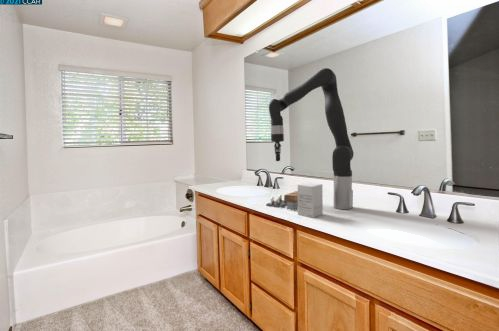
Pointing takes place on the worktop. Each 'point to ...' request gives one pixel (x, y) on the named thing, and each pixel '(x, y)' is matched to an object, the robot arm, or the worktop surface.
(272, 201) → the peg base
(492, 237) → the worktop surface
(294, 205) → the stand
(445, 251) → the worktop surface
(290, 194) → the brown wooden block
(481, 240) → the worktop surface
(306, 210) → the supplement box
